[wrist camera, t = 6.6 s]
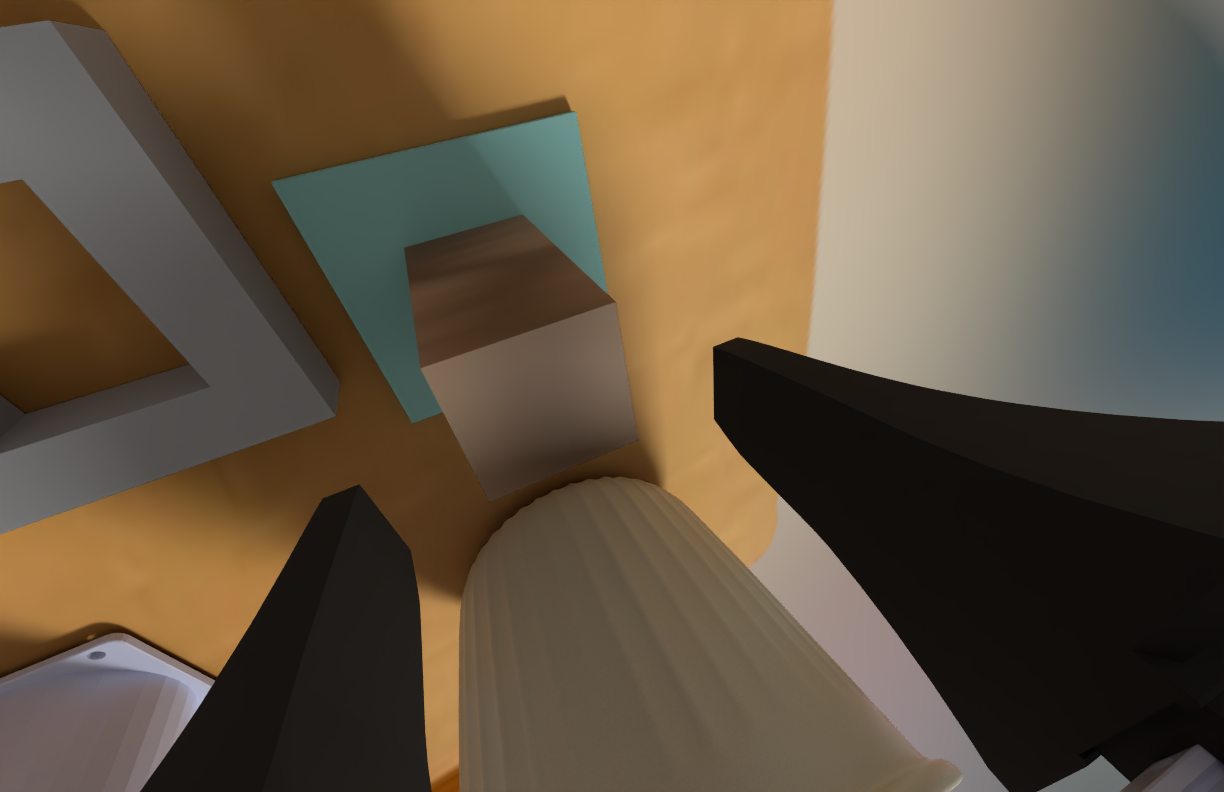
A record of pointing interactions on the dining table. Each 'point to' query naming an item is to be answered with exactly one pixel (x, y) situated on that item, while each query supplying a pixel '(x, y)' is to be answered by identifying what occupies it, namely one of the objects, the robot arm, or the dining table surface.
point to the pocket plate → (141, 286)
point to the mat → (437, 224)
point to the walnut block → (519, 353)
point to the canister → (653, 664)
